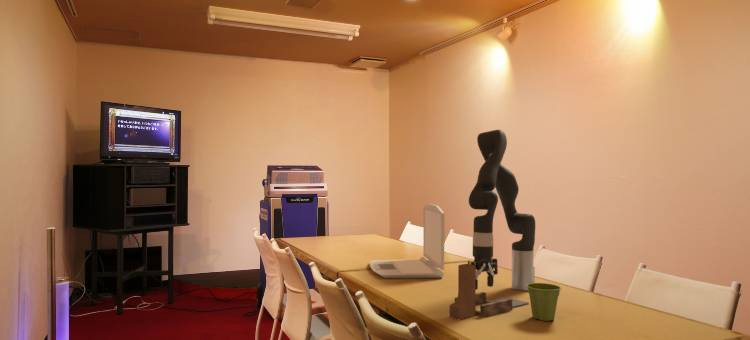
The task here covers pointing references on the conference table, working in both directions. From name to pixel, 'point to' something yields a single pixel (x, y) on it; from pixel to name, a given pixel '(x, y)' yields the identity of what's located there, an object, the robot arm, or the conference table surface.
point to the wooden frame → (491, 305)
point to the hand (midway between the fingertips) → (482, 287)
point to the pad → (514, 302)
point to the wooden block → (465, 293)
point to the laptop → (430, 250)
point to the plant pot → (543, 300)
